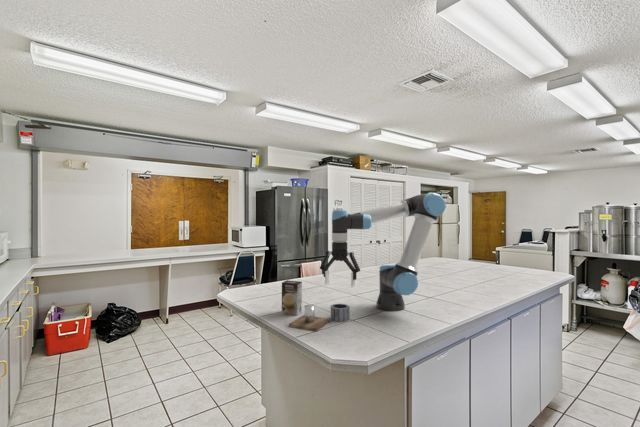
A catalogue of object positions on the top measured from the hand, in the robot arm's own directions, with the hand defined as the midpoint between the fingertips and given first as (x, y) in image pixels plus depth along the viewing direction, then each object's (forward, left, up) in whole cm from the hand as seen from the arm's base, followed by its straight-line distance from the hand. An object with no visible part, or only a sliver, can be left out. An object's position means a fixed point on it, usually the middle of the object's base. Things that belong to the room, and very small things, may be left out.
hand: (339, 285), depth 152 cm
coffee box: (+26, +2, -16) cm, 31 cm away
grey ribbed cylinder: (0, 0, -16) cm, 16 cm away
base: (+10, +13, -16) cm, 23 cm away
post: (+10, +13, -15) cm, 22 cm away
